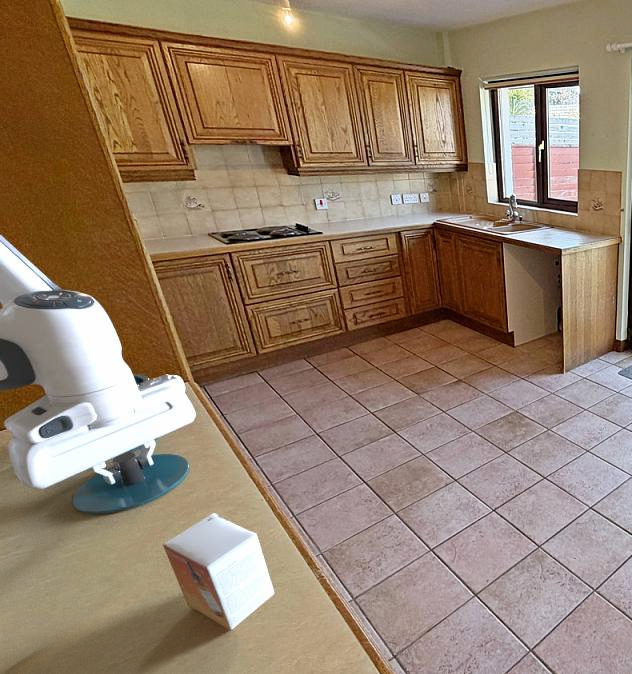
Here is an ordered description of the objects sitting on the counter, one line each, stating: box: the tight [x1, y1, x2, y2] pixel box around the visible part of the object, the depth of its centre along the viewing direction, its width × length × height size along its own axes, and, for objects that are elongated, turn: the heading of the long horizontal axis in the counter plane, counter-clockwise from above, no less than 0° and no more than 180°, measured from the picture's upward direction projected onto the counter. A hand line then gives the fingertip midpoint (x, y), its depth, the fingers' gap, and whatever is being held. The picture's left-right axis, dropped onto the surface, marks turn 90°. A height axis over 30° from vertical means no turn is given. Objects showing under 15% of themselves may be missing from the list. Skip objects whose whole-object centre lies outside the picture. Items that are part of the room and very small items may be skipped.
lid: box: [72, 452, 190, 516], centre depth 75 cm, size 14×14×6 cm
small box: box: [162, 512, 275, 631], centre depth 57 cm, size 8×6×10 cm
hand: (130, 473), depth 75 cm, fingers closed on lid, 2 cm apart
